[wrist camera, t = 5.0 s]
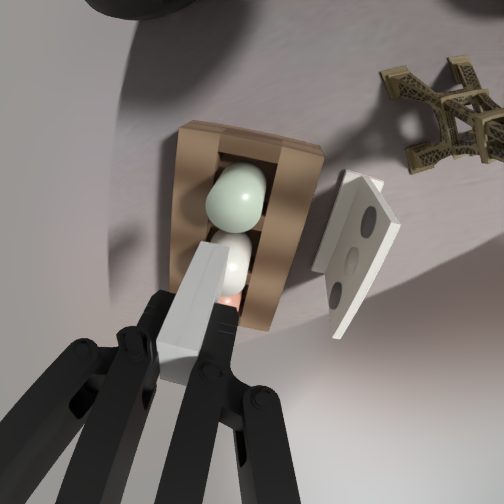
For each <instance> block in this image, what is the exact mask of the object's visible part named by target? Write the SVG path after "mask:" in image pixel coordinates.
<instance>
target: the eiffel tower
mask: <svg viewBox="0 0 504 504" xmlns="http://www.w3.org/2000/svg"><path fill="white" fill-rule="evenodd" d="M448 60H449V63H450V66H451V69H452V72H453V76H454V79H455V82H456V84H462V86H463V89H460V90H455V91H449V92H441V93H435V92H434V91H433V90H432V89H430V88H429V87H428V86H427V85H426V84H424V83H423V82H422V81H421V80H419V79H418V78H417V77H415V76H414V75H413V74H411V73H410V70H408V68H407V66H402V67H398V68H393V69H389V70H385V71H381V75H382V77H383V80H384V83H385V86H386V88H387V91H388V94H389V97H390V99H394V98H396V99H397V98H400V97H405V98H409V99H412V100H416V101H420V102H424V103H427V104H431V106H432V108H433V111H434V113H435V116H436V118H437V121H438V124H439V128H440V142H439V143H437V144H434V145H432V146H431V143H429V142H426V143H422V144H419V145H415V146H412V147H409V148H405V151H406V155H407V159H408V163H409V168H410V172H411V174H415V173H419V172H422V171H425V170H428V169H432V168H434V165H435V164H436V163H437V162H438V161H439V160H441V159H443V158H446V157H448V156H450V155H452V156H453V158H454V160H455V159H458V158H460V157H463V156H466V155H470V154H471V156H475V155H480V158H481V162H482V163H485V164H490V163H492V162H494V161H496V160H499V161H501V162H504V108H501V107H500V106H499V105H498V104H496V103H495V102H494V101H493V100H492V99H491V98H490V97H489V92H488V89H482V88H481V85H480V83H479V80H478V78H477V76H476V73H475V71H474V69H473V66H472V63H471V59H470V56H469V55H463V56H456V57H449V58H448ZM470 104H472V106H473V109H474V111H473V110H471V109H469V108H468V107H466V106H465V105H470ZM454 116H455V117H457V118H459V119H460V120H462V121H463V122H465V123H467V124H468V125H470V126H471V127H472V129H473V130H469V131H467V134H468V137H465V138H461V139H460V138H459V136H458V131H457V126H456V121H455V117H454Z"/></svg>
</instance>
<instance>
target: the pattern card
mask: <svg viewBox="0 0 504 504" xmlns="http://www.w3.org/2000/svg"><path fill="white" fill-rule="evenodd" d="M383 184H384V182H383V180H380V179H377V178H374V177H371V176H367V175H364V174H361V173H358V172H354V171H351V170H348V169H345V172H344V175H343V178H342V182H341V185H340V188H339V191H338V194H337V197H336V200H335V203H334V205H333V208H332V211H331V214H330V217H329V220H328V223H327V226H326V228H325V231H324V234H323V237H322V240H321V242H320V245H319V248H318V250H317V253H316V256H315V259H314V261H313V264H312V266H311V271H314V272H319V273H323V274H325V280H326V288H327V296H328V304H329V313H330V322H331V332H332V338H336V339H341V337H342V335H343V333H344V332H345V330H346V329H347V327H348V325H349V324H350V322H351V320H352V319H353V317H354V315H355V313H356V312H357V310H358V308H359V306H360V305H361V303H362V301H363V299H364V298H365V296H366V294H367V292H368V290H369V288H370V287H371V285H372V283H373V281H374V279H375V277H376V275H377V273H378V271H379V269H380V267H381V265H382V264H383V262H384V260H385V258H386V255H387V253H388V251H389V249H390V247H391V245H392V243H393V241H394V239H395V237H396V235H397V232H398V230H399V228H400V226H401V224H400V223H399V221H398V219H397V218H396V216H395V215H394V213H393V212H392V210H391V208H390V207H389V205H388V204H387V202H386V201H385V199H384V198H383V196H382V195H381V193H380V192H381V189H382V187H383Z"/></svg>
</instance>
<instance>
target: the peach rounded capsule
mask: <svg viewBox="0 0 504 504" xmlns="http://www.w3.org/2000/svg"><path fill="white" fill-rule="evenodd" d="M242 291H243V289H242V290H241V291H240V292H239V293H238V294H236V295H233V296H228V297H223V296H220V299H219V303H220V304H224V305H228V306H233V307H237V311H238V310H239V305H240V300H241V296H242Z"/></svg>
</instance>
